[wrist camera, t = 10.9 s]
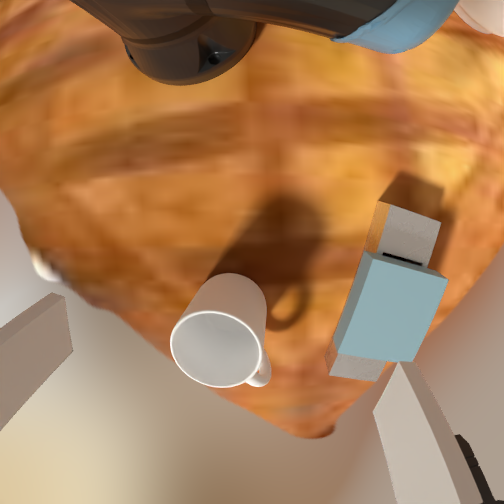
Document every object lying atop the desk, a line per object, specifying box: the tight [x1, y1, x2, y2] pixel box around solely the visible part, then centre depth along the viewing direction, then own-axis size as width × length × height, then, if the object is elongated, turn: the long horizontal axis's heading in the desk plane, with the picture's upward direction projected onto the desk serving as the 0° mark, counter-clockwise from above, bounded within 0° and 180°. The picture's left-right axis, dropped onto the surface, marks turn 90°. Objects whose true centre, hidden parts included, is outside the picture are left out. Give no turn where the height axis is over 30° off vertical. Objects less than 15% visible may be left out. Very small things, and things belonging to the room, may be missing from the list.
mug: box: [170, 273, 271, 388], centre depth 30 cm, size 12×8×10 cm
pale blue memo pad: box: [333, 250, 449, 362], centre depth 30 cm, size 10×9×6 cm
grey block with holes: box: [325, 201, 441, 382], centre depth 31 cm, size 20×6×4 cm, turn 167°
